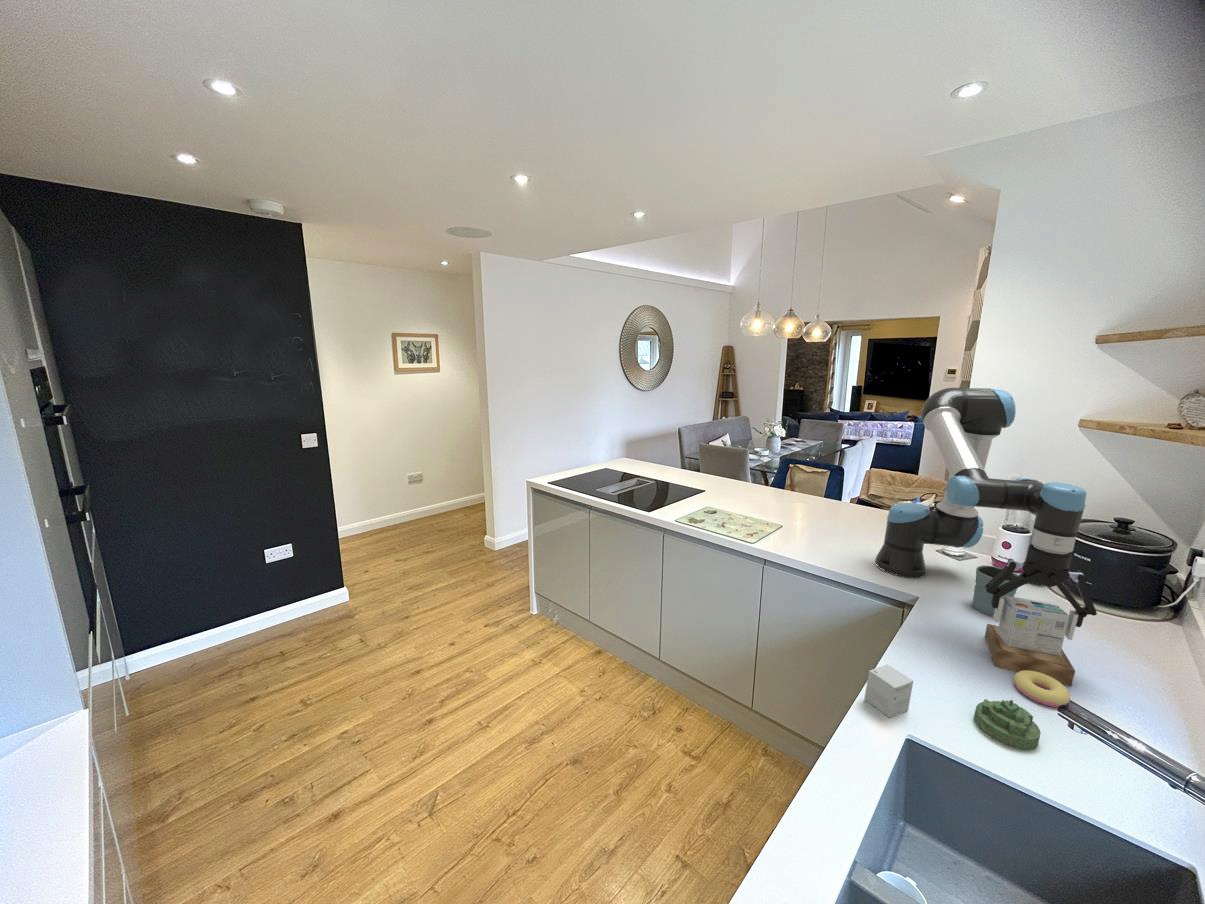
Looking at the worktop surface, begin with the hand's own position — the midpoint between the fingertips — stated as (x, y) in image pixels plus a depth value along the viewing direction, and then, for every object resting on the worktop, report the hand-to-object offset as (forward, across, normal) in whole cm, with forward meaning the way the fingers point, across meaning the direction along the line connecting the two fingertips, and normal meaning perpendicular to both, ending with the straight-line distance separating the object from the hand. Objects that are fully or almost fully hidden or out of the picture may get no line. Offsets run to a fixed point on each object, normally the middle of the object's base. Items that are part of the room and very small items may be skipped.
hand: (1031, 628), depth 117 cm
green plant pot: (+9, -3, +26) cm, 27 cm away
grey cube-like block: (+8, -30, -37) cm, 49 cm away
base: (+9, 0, 0) cm, 9 cm away
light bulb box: (+4, 0, 0) cm, 5 cm away
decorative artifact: (+9, -9, -33) cm, 35 cm away
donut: (+9, 0, -14) cm, 17 cm away
